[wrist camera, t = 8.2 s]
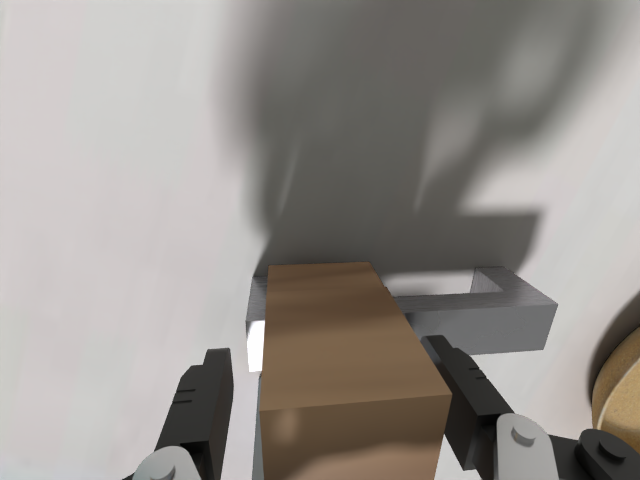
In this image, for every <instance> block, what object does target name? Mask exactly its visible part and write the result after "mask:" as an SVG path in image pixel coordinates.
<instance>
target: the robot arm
mask: <svg viewBox="0 0 640 480" xmlns="http://www.w3.org/2000/svg"><path fill="white" fill-rule="evenodd" d="M420 342H421V344H422V345H423V347H424V349H425V350H426V352H427V354H428V355H429V357H430V358H431V360H432V362H433V363H434V365H435V367H436V368H437V370H438V371H439V373H440V375H441V376H442V378H443V380H444V381H445V383H446V384H447V386H448V388H449V389H450V391H451V393H452V399H451V403H450V408H449V412H448V417H447V422H446V426H445V431H444V434H445V436H446V438H447V440H448V442H449V444H450V446H451V448H452V450H453V452H454V454H455V456H456V457H457V459H458V461H459V463H460V465H461V467H462V469H463V471H465V470H474V469H476V470H477V471H478V473H479V475H480V477H481V478H480V480H640V454H639V453H638V452H637V451H635V450H634V449H633V448H632V447H631V446H630V445H629V444H627V443H626V442H625V441H623V440H622V439H620V438H618V437H617V436H615V435H613V434H611V433H608V432H606V431H603V430H598V429H586V430H584V431H583V432H582V433H581V435H580V437H579V440H573V439H568V438H563V437H558V436H553V435H549V434H547V433H546V432H545V431H544V429H543V428H542V427H540V426H539V425H538V424H537V423H535V422H534V421H532V420H531V419H529V418H527V417H525V416H522V415H519V414H515V413H514V411H513V410H512V409H511V408H510V406H509V405H508V404H507V402H506V401H505V400H504V399H503V397H502V396H501V395H500V394H499V392H498V391H497V390H496V388H495V387H494V386H493V385H492V383H491V382H490V381H489V379H487V378H486V376H485V374H484V373H483V372H482V371H481V370H480V369H479V367H478V365H477V364H476V363H475V362H474V360H473V359H472V358H471V357H470V356H469V355H468V354H466V353H465V352H463V351H462V350H461V349H459V348H453V347H452V346H451V345H450V343H449V342H448V340H447V339H446V338H445V337H444V336H443V335H429V336H422V337H421V339H420ZM233 390H234V384H233V373H232V363H231V353H230V349H229V348H220V349H208V350H207V352H206V356H205V359H204V362H203V365H194V366H191V367H190V368H189V369H188V370H187V371H186V372H185V374H184V375H183V376H182V377H181V379H180V382H179V385H178V387H177V390H176V393H175V396H174V398H173V401H172V405H171V407H170V409H169V412H168V415H167V418H166V420H165V423H164V426H163V429H162V432H161V434H160V437H159V440H158V443H157V445H156V448H155V450H154V452H153V453H152V454H150V455H149V456H148V457H147V458H145V459H144V460H143V461H142V463H141V464H140V465H139V466H138V468H137V470H136V471H135V473H133V474H132V475H130V476H128V477H126V478H124V479H122V480H220V479H221V472H222V466H223V459H224V453H225V447H226V440H227V434H228V427H229V421H230V414H231V408H232V402H233Z"/></svg>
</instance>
